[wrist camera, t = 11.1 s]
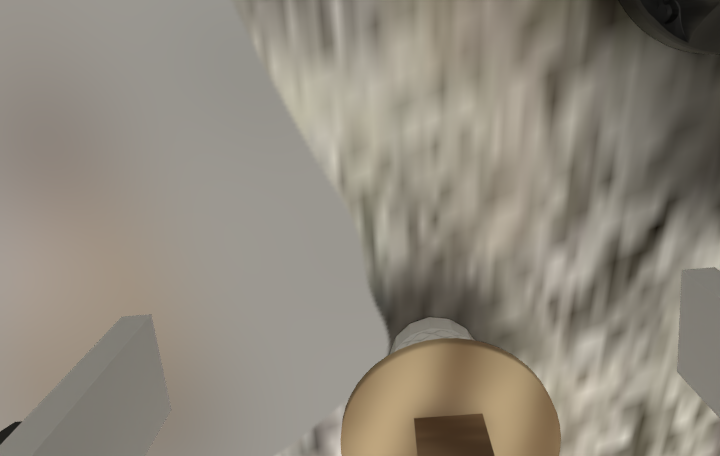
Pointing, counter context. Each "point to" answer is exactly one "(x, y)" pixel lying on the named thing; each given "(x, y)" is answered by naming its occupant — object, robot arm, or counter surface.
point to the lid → (450, 405)
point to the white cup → (429, 332)
